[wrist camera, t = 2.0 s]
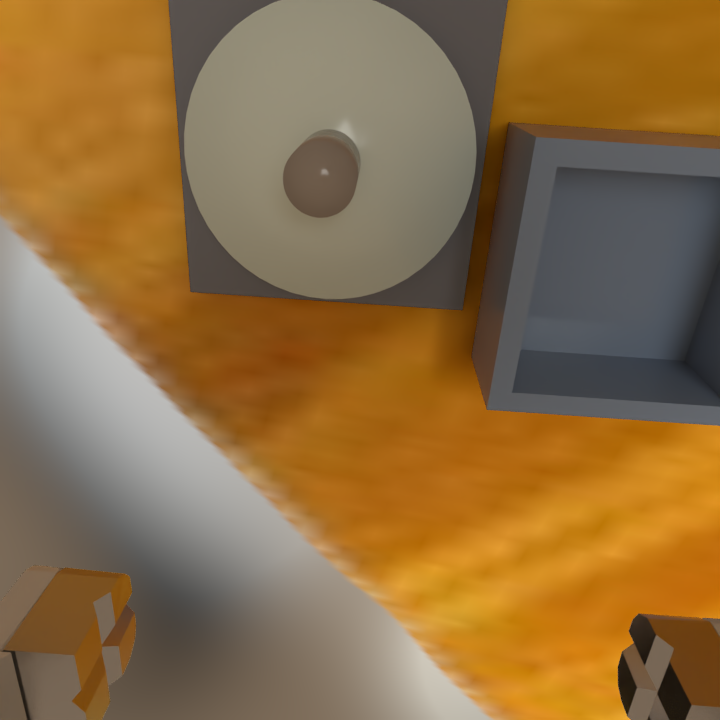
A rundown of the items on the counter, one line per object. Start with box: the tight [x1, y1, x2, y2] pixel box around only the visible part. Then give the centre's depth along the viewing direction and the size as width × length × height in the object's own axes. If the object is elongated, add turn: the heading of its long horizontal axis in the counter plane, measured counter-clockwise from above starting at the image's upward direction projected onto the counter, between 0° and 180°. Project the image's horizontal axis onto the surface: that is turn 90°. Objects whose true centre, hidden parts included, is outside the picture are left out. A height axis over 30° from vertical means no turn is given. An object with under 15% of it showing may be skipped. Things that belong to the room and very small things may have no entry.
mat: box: [169, 0, 508, 310], centre depth 28 cm, size 14×14×1 cm
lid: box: [184, 0, 477, 299], centre depth 25 cm, size 13×13×5 cm
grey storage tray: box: [472, 122, 720, 426], centre depth 28 cm, size 12×12×6 cm
